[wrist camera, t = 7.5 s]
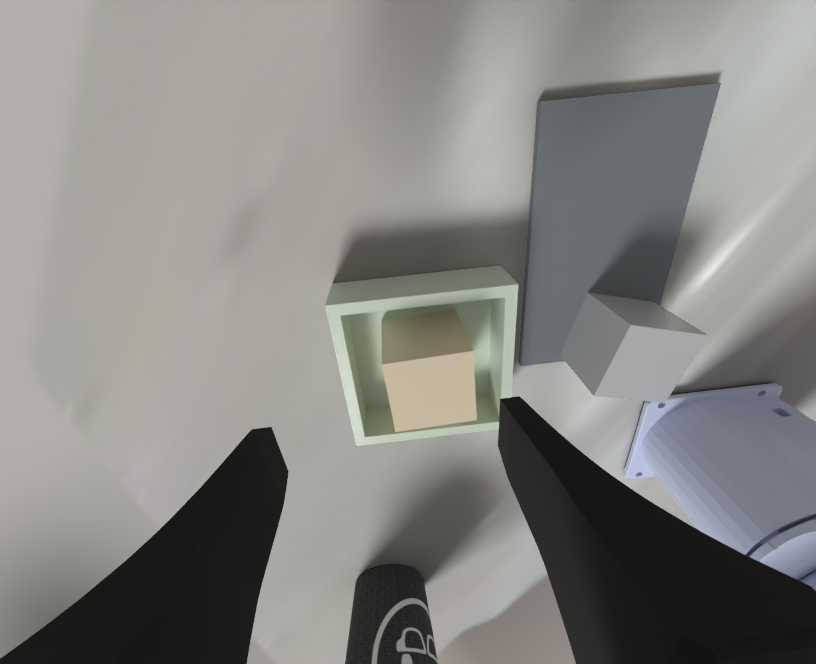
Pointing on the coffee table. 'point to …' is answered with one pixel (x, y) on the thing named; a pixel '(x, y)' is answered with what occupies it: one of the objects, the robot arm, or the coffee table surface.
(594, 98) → the slate mat
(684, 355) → the matte grey cube
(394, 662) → the coffee cup
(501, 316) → the green bin
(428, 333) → the tan wooden cube
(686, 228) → the coffee table surface
